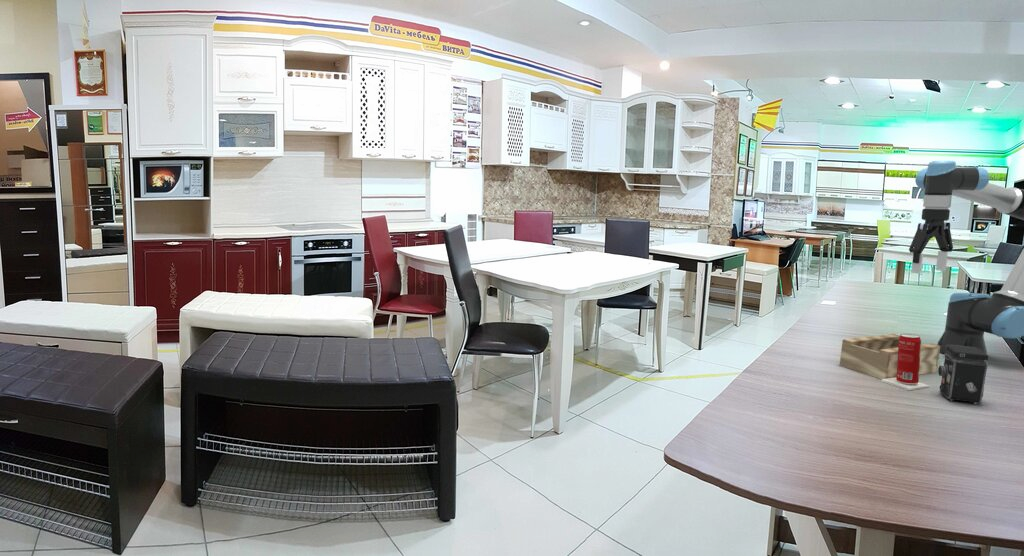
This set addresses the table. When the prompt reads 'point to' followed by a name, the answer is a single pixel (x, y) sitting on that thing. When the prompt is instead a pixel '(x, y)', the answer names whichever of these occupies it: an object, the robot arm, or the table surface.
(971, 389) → the camera
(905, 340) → the beverage can
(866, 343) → the slot box
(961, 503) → the table surface
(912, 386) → the tile
